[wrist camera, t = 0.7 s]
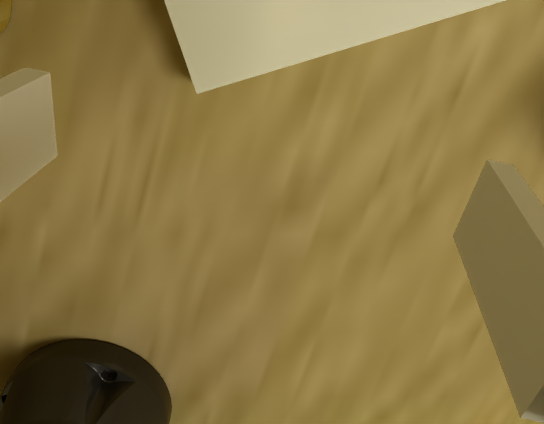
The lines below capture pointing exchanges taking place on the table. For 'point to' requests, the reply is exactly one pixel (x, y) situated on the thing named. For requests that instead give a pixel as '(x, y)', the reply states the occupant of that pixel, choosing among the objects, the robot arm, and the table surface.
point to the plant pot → (5, 13)
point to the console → (289, 31)
